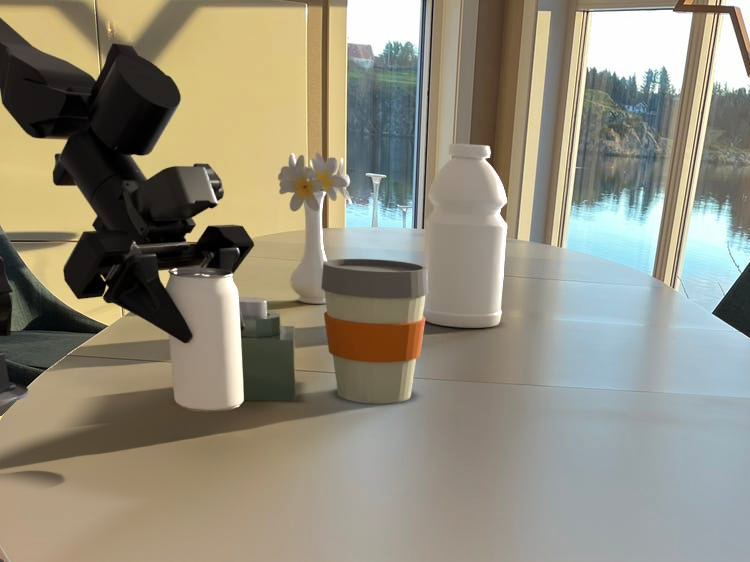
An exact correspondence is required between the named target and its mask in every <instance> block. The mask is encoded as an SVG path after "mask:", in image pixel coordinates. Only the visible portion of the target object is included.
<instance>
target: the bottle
mask: <svg viewBox="0 0 750 562" xmlns="http://www.w3.org/2000/svg"><path fill="white" fill-rule="evenodd" d="M448 155H449V156H451V157H452V158H450V160H448V162H446V164H444V165H443V166H442V168H441V169H440V170H439V171H438V173H437V174H436V175H435V177H434V179H433V181H432V182H431V184H430V188H429V191H428V193H427V199H428V200H429V202H430V203H431V205H432V208H433V209H432V211H431V212H430V213H429V215H428V216H427V217H426V218H425V219H424V259H423V261H424V262H423V266H425V267H426V268H427V280H428V294H427V295H425V302H424V308H423V315H422V316H423V317H425V322H427V323H429V324H432V325H438V326H443V327H451V328H461V329H462V328H463V329H483V328H492V327H496V326H498V325H499V324H500V322H501V317H502V313H503V312H502V297H503V284H504V271H505V269H504V268H505V254H506V242H507V241H506V240H507V231H508V224H507V223H506V222H505V220H504V219H503V217H502V215H501V209H502V208H503V207H504V206H506V204H507V203H508V200H507V196H506V191H505V189H504V186H503V183H502V181H501V179H500V176H499V175H498V174H497V172H496V171H495V169H494V168H493V166H492V165H491V164H490V163H489V162H488V161H487V159H490V158H491V148H490V146H489V145H485V144H484V145H483V144H472V143H471V144H470V143H469V144H468V143H456V142H455V143H453V142H452V143H450V144H449V147H448Z"/></svg>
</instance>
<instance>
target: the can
mask: <svg viewBox="0 0 750 562" xmlns="http://www.w3.org/2000/svg"><path fill="white" fill-rule="evenodd" d="M167 271H168V274H169V277H168V280H167V283H166V285H165V289H166V291H167V292H168V294H169V295H170V297H171V299H172V300H173V302H174V303H175V305H176V307H177V308H178V310H179V311H180V313H181V315H182V316H183V318H184V319H185V321H186V323H187V325H188V327H189V329H190V331H191V333H192V335H193V337H192V339H191V340H190V341H189V343H183V342H181V341H180V340H178V339H176V338H175V337H173V336H171V335H170V334H168V342H169V353H170V364H171V366H170V367H171V376H172V387H173V397H174V402H175V403H176V404H177V405H178V406H179V407H180V408H181V409H185V410H189V411H193V412H205V413H206V412H207V413H213V412H227V411H231V410H234V409H237V408H239V407H240V406H241V405H242V404H243V403H244V401H245V400H244V392H243V370H242V350H241V331H240V312H239V297H240V296H239V289H238V288H237V285H236V284H235V281H234V279H232V278H233V276H234V274H233V273H232V272H230V271H227V270H222V269H214V268H197V267H189V268H175V269H170V270H167Z"/></svg>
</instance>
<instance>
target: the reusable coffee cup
mask: <svg viewBox="0 0 750 562" xmlns="http://www.w3.org/2000/svg"><path fill="white" fill-rule="evenodd" d="M321 289H323V290H324V293H325V300H326V304H325V308H326V311H325V312H323V319H324V325H325V333H326V341H327V347H328V348H327V349H328V353H329V354H331V356H332V360H333V365H334V374H335V383H336V389H337V395H338V396H339V398H342V399H344V400H348V401H351V402H355V403H356V402H357V403H363V404H378V405H379V404H381V405H382V404H396V403H400V402H404V401H407V400H409V399H410V398H411V395H412V387H413V381H414V374H415V368H416V361H417V359H418V358H419V357H420V356H421V350H422V346H423V345H422V343H423V337H424V331H425V326H426V325H425V324H426V321H425V317H423V308H424V302H425V295H427V294H428V280H427V268H426V267H425V266H424V265H422V264H419V263H414V262H408V261H400V260H389V259H380V258H379V259H375V258H337V259H327V261H325V262H323V274H322V286H321Z"/></svg>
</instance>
